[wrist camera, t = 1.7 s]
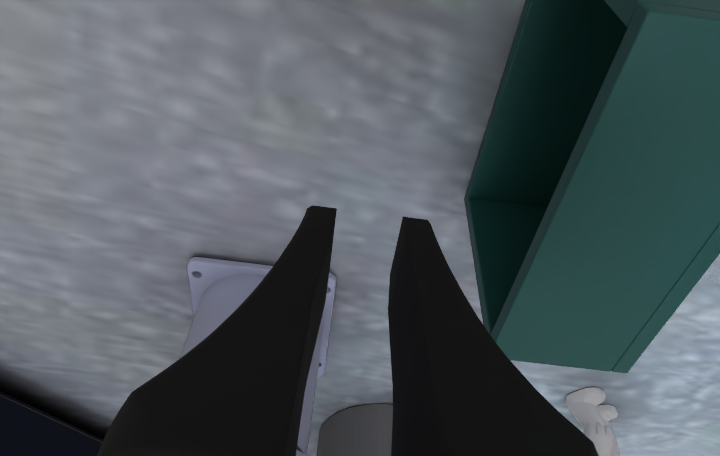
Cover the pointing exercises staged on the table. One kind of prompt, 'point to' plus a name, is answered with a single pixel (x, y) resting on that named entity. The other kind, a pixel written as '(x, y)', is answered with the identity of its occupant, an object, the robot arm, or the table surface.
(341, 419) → the coffee mug
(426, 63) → the table surface
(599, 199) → the teal open crate
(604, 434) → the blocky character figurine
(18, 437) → the speaker
